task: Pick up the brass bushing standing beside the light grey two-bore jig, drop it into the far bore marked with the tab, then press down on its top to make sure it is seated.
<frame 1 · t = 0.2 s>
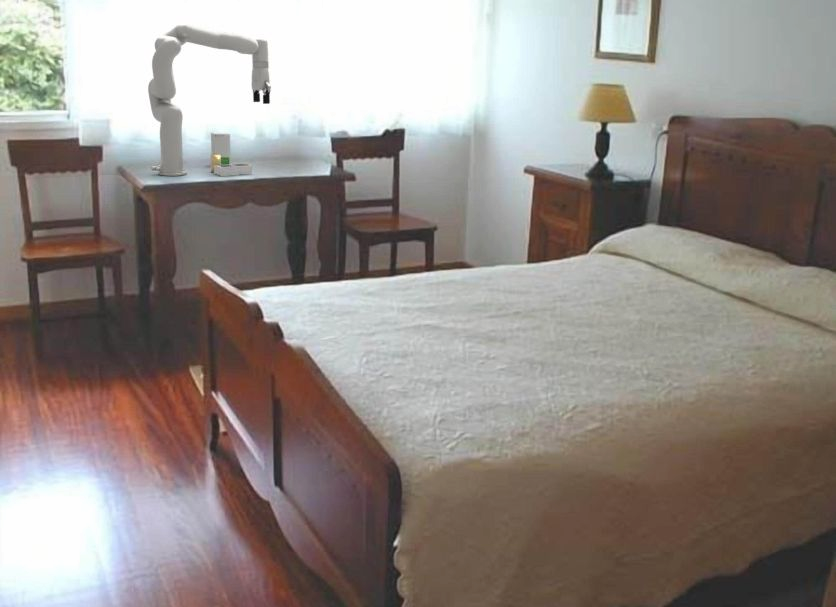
hand: (261, 102, 437), 31 cm above the table, tool pointing down, fingers open, 9 cm apart
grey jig: (233, 174, 427), on the table
brass bushing: (216, 171, 431), on the table
skincare box: (221, 165, 451), on the table
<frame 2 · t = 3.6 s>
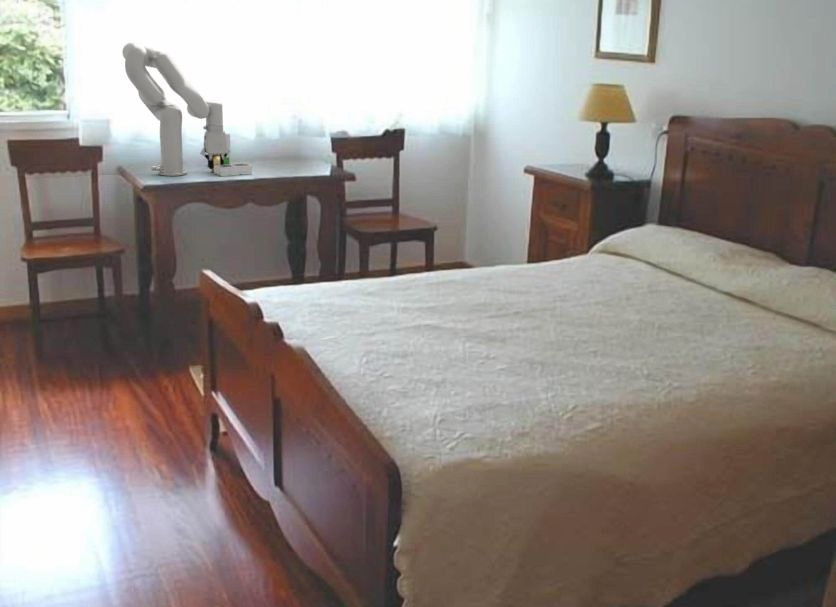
hand: (216, 167, 431), 2 cm above the table, tool pointing down, fingers closed on brass bushing, 4 cm apart
brass bushing: (216, 172, 431), on the table, touching gripper
everything else where it was.
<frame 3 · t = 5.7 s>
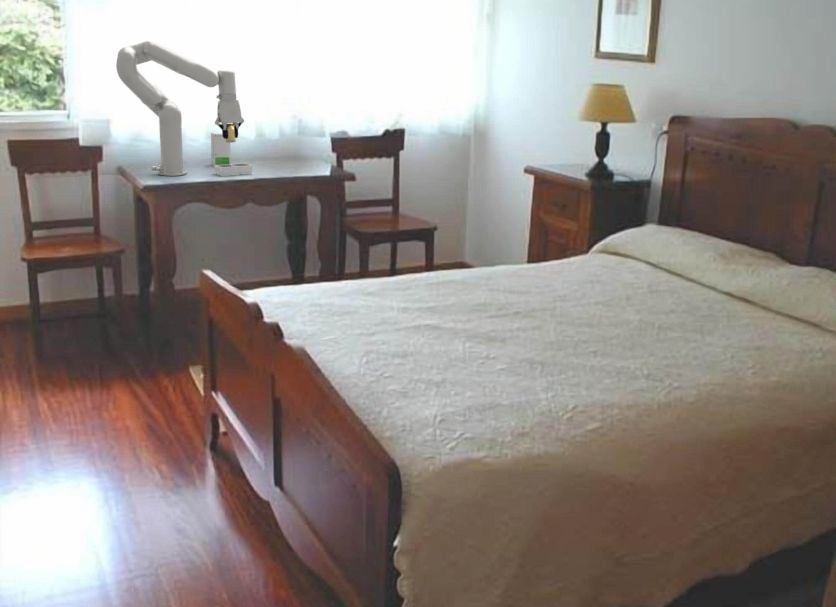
hand: (230, 137, 426), 16 cm above the table, tool pointing down, fingers closed on brass bushing, 4 cm apart
brass bushing: (230, 141, 426), point 14 cm above the table, touching gripper
everything else where it was.
when the fingers open (7 cm above the table, at t = 7.9 s): brass bushing drops 5 cm, resting in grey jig.
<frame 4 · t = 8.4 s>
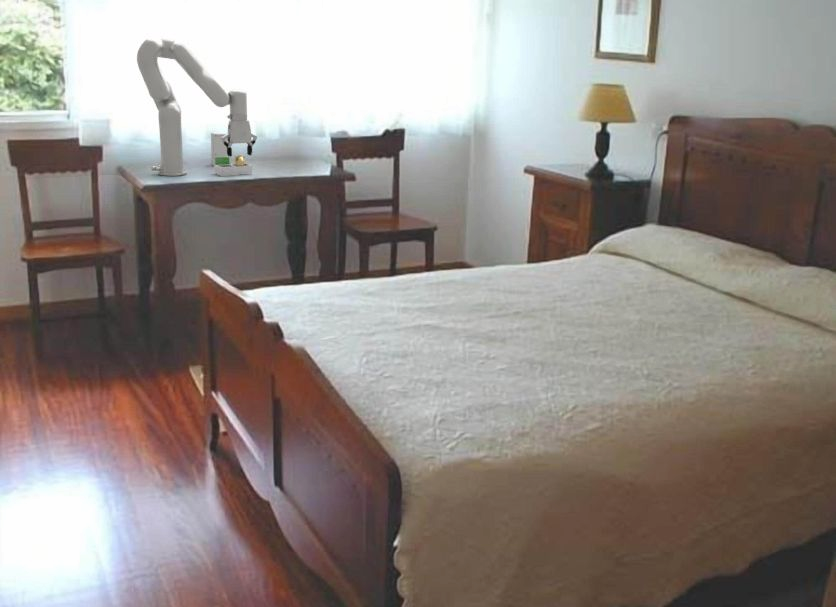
hand: (239, 155, 426), 8 cm above the table, tool pointing down, fingers open, 9 cm apart
brass bushing: (240, 173, 429), resting in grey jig
everything else where it was.
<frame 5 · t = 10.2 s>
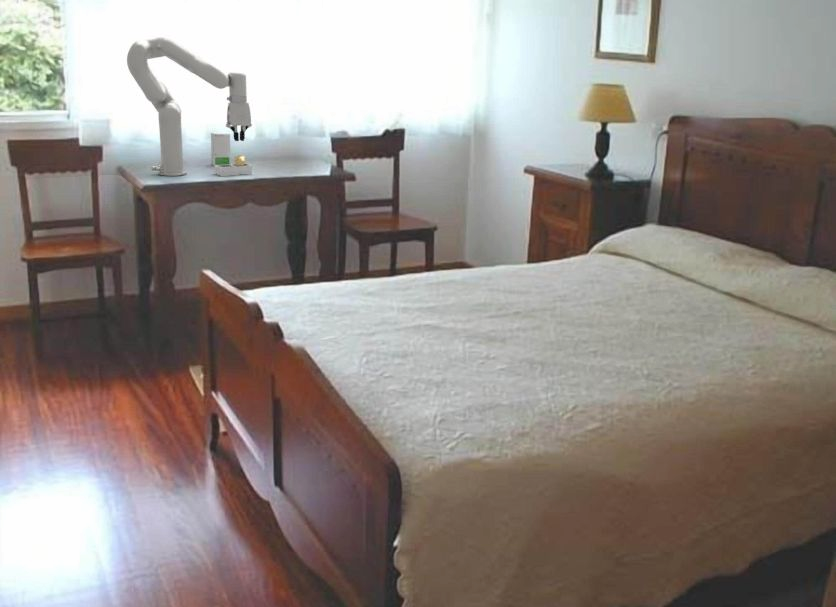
hand: (239, 140, 424), 15 cm above the table, tool pointing down, fingers closed
nothing on the table moved.
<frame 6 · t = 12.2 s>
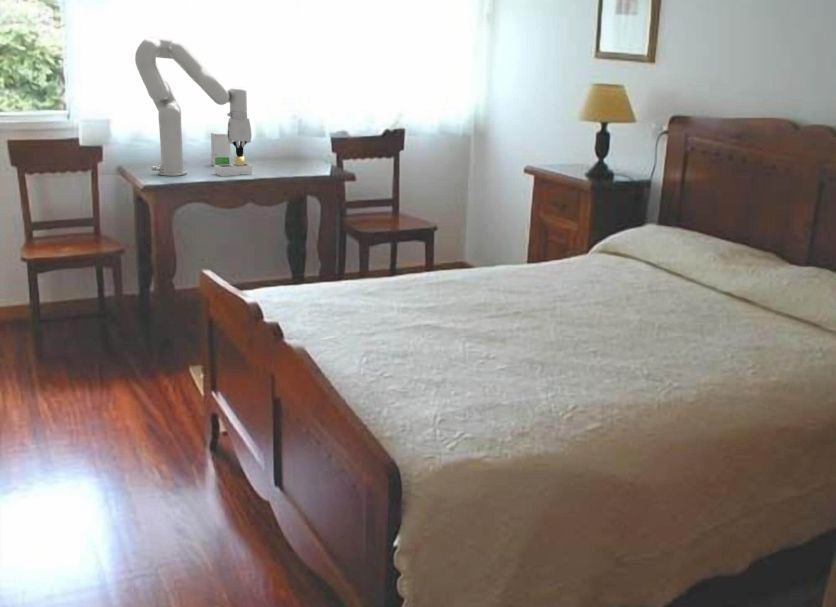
hand: (239, 155, 426), 8 cm above the table, tool pointing down, fingers closed
brass bushing: (240, 173, 429), resting in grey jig, touching gripper
everything else where it was.
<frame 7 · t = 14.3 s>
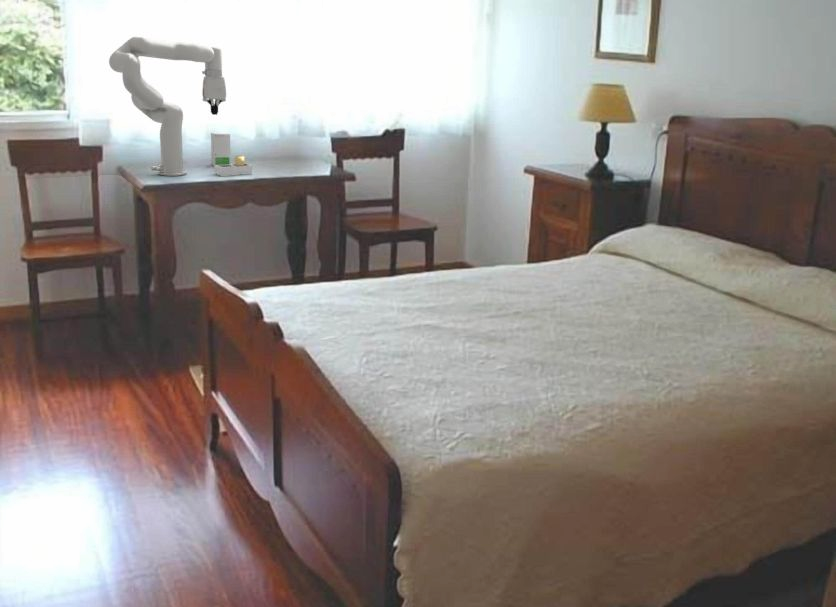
hand: (214, 114, 431), 26 cm above the table, tool pointing down, fingers closed
brass bushing: (240, 173, 429), resting in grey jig
everything else where it was.
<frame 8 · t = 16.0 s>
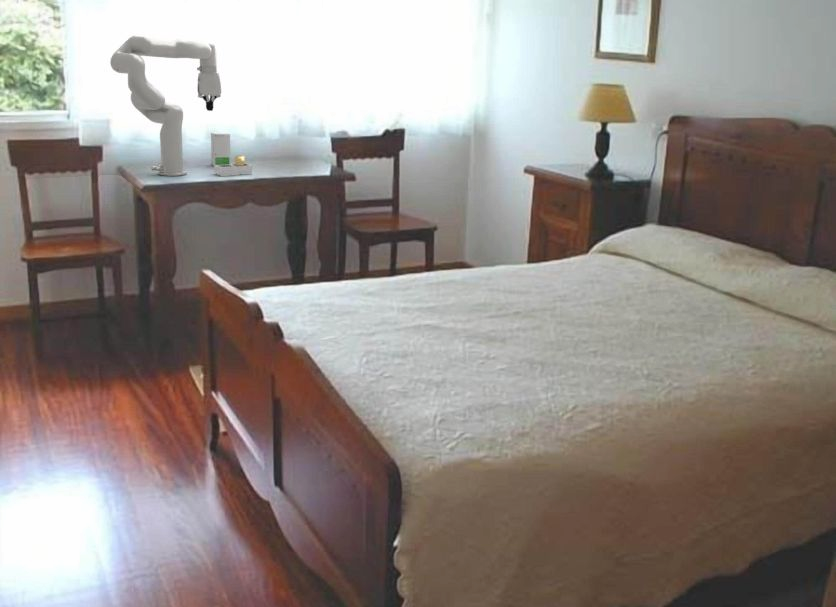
hand: (209, 110, 433), 27 cm above the table, tool pointing down, fingers closed
nothing on the table moved.
at the end: brass bushing 0.1 cm from the target spot, resting in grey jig; brass bushing tilted 0°; the gripper is holding nothing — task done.
